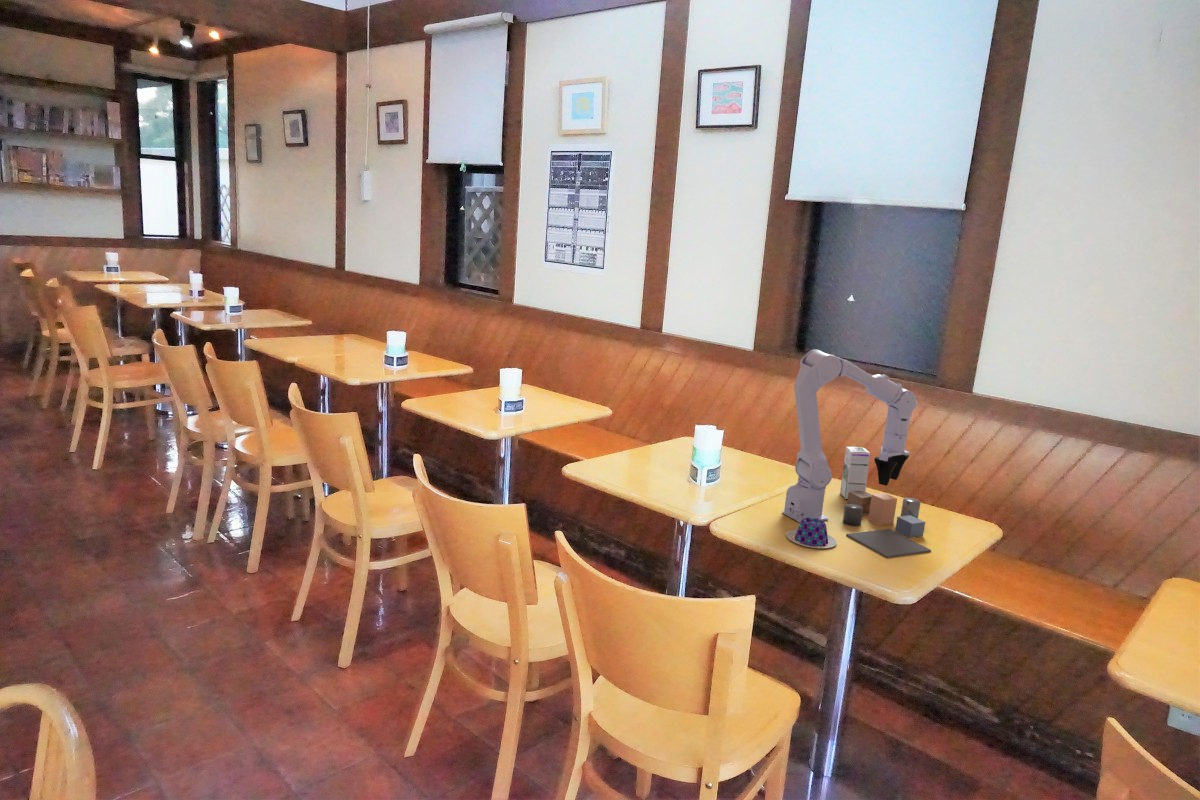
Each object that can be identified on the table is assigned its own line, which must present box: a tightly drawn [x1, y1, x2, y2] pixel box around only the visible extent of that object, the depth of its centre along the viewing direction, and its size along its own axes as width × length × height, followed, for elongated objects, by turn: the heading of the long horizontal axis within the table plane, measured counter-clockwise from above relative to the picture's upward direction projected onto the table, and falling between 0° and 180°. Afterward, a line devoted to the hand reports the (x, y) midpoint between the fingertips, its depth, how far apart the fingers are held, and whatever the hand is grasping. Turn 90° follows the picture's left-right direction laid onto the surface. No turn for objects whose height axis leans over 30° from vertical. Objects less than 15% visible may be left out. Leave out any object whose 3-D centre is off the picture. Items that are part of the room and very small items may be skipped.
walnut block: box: [846, 490, 872, 515], centre depth 218 cm, size 5×5×5 cm
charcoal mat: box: [845, 528, 932, 559], centre depth 196 cm, size 14×14×1 cm
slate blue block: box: [894, 515, 926, 539], centre depth 204 cm, size 4×5×4 cm
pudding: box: [786, 518, 837, 549], centre depth 194 cm, size 12×12×5 cm
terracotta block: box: [867, 492, 898, 526], centre depth 211 cm, size 4×4×7 cm
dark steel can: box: [900, 497, 922, 519], centre depth 214 cm, size 4×4×6 cm
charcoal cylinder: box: [842, 503, 863, 527], centre depth 209 cm, size 5×5×4 cm
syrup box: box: [839, 446, 871, 500], centre depth 229 cm, size 6×6×14 cm
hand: (887, 481), depth 214 cm, fingers open, 7 cm apart
